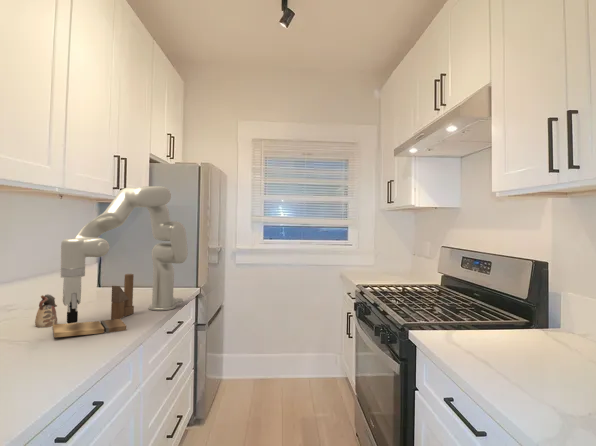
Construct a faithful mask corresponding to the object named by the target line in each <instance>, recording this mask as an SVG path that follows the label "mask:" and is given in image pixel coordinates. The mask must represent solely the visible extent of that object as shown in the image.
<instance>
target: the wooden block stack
mask: <svg viewBox="0 0 596 446" xmlns="http://www.w3.org/2000/svg"><path fill="white" fill-rule="evenodd" d="M133 296H134V274H133V273H125V274H124V286H123V289H122V288H121V286H120V285H112V286H111V308H110V309H111V310H110V320H113V319H121V320H122V319H123V318H124V317H128V316H130V315H133V314H134V312H135V306H134V304H133V302H134V301H133V299H134V297H133Z"/></svg>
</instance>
